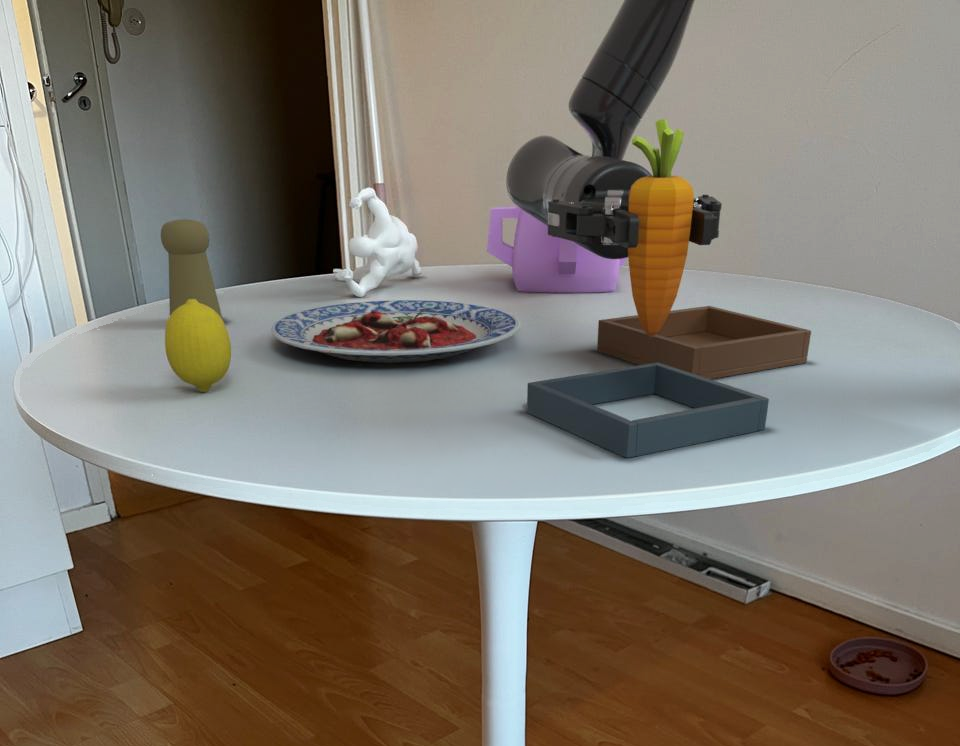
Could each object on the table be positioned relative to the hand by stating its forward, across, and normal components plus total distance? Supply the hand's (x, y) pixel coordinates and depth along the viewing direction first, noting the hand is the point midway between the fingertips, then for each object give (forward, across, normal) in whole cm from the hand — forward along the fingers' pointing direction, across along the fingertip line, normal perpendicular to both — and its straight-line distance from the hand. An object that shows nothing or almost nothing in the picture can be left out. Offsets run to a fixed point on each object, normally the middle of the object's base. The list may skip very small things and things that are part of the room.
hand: (671, 230), depth 72 cm
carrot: (-3, 0, +8) cm, 9 cm away
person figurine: (-67, -15, +15) cm, 71 cm away
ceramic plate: (-34, -17, +15) cm, 41 cm away
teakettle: (-66, +10, +15) cm, 68 cm away
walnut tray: (-23, +12, +15) cm, 30 cm away
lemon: (-18, -36, +15) cm, 43 cm away
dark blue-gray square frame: (-3, 0, +15) cm, 15 cm away
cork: (-49, -38, +15) cm, 64 cm away
